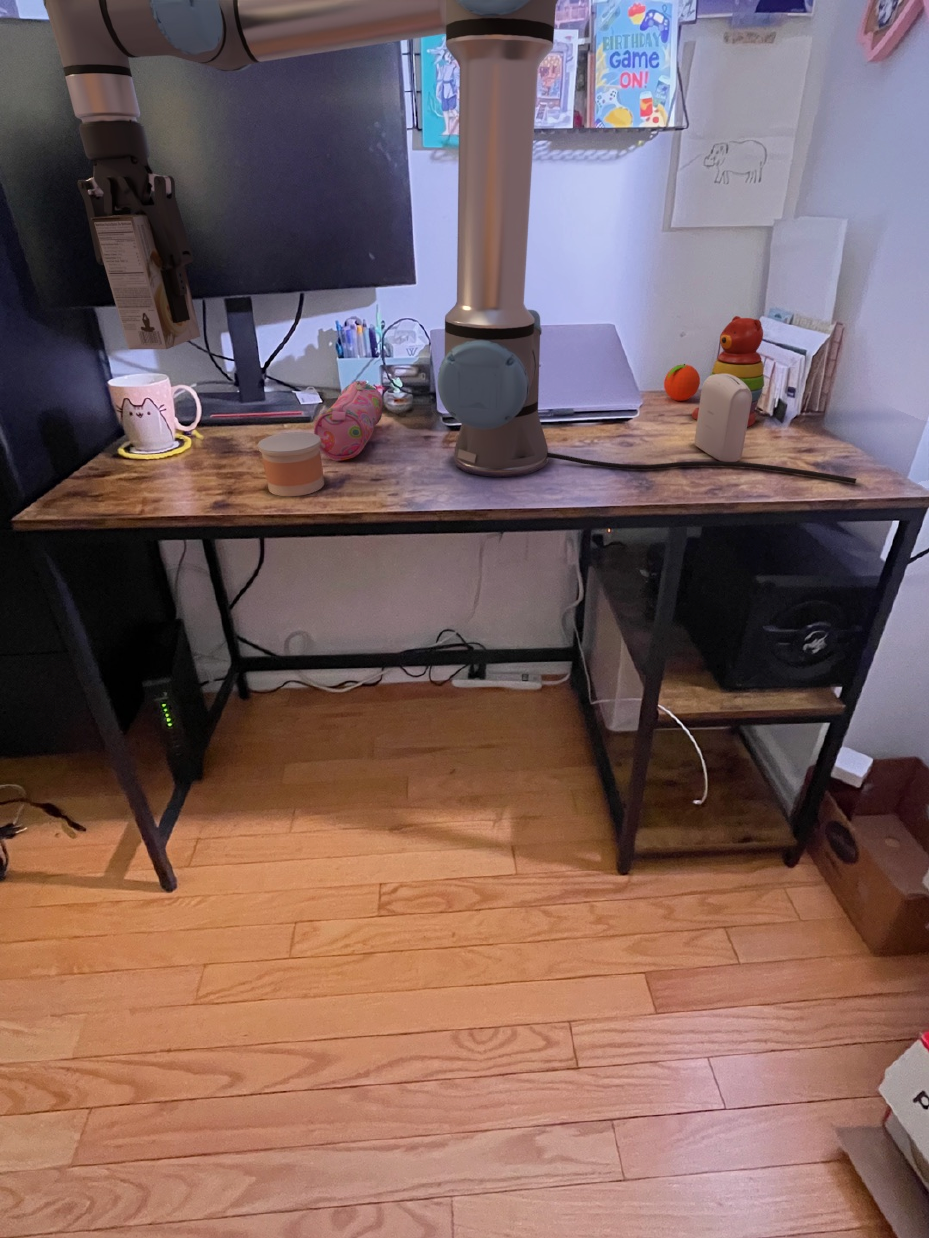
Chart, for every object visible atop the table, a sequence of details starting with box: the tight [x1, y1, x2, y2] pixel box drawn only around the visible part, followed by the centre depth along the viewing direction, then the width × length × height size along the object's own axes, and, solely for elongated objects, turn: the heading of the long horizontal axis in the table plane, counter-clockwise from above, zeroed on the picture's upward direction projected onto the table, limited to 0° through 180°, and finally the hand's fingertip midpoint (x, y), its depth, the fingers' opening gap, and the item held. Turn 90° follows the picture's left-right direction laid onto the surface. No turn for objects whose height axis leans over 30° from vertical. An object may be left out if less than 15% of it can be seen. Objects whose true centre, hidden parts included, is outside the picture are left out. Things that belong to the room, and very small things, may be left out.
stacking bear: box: [691, 315, 765, 428], centre depth 125 cm, size 11×10×18 cm
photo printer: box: [694, 374, 752, 462], centre depth 112 cm, size 10×4×12 cm, turn 11°
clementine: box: [663, 363, 701, 402], centre depth 141 cm, size 8×7×7 cm
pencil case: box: [313, 380, 384, 461], centre depth 122 cm, size 21×9×9 cm, turn 176°
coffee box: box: [91, 213, 201, 350], centre depth 96 cm, size 9×6×16 cm
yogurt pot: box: [257, 431, 325, 497], centre depth 106 cm, size 9×9×7 cm
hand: (159, 320), depth 99 cm, fingers closed on coffee box, 7 cm apart
